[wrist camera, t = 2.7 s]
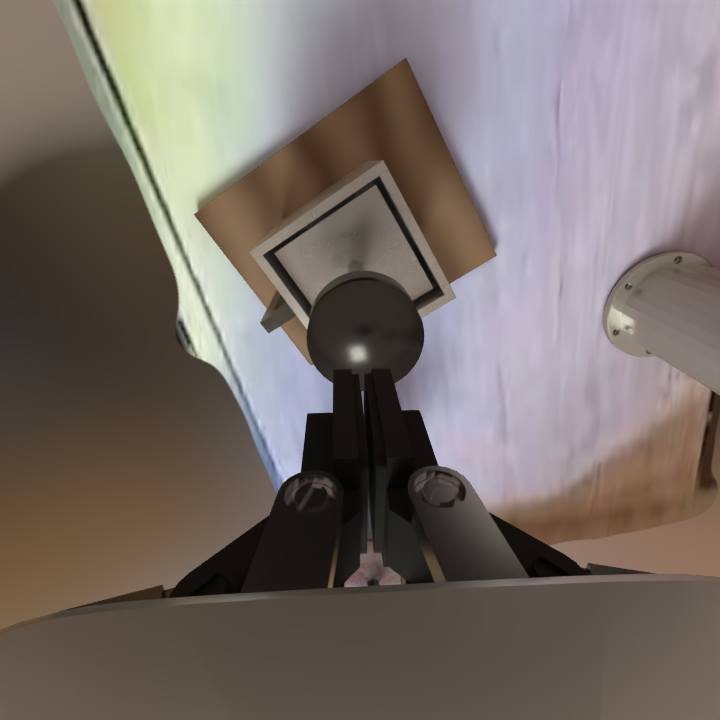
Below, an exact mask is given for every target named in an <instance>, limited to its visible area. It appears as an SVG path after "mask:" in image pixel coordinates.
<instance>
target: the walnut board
mask: <svg viewBox="0 0 720 720" xmlns="http://www.w3.org/2000/svg"><path fill="white" fill-rule="evenodd" d="M371 160H383V161H384V163H385V165H386V166H387V168H388V170H389V172H390V174H391V176H392V178H393V180H394V181H395V183H396V185H397V187H398V189H399V191H400V193H401V195H402V196H403V198H404V200H405V202H406V204H407V206H408V208H409V210H410V211H411V213H412V215H413V217H414V219H415V221H416V223H417V225H418V226H419V228H420V230H421V232H422V234H423V236H424V238H425V240H426V241H427V243H428V245H429V247H430V249H431V251H432V253H433V255H434V256H435V258H436V260H437V262H438V264H439V266H440V268H441V270H442V271H443V273H444V275H445V277H446V279H447V281H448V283H449V284H450V283H451V282H453V281H455V280H456V279H458V278H460V277H461V276H463V275H465V274H466V273H468V272H470V271H472V270H473V269H475V268H477V267H478V266H480V265H482V264H483V263H485V262H487V261H488V260H490V259H492V258H493V257H495V256H497V255H496V252H495V250H494V248H493V246H492V244H491V242H490V239H489V237H488V235H487V233H486V231H485V229H484V226H483V224H482V222H481V220H480V218H479V216H478V213H477V211H476V209H475V207H474V205H473V202H472V200H471V198H470V196H469V194H468V192H467V189H466V187H465V185H464V183H463V181H462V179H461V176H460V174H459V172H458V170H457V168H456V166H455V163H454V161H453V159H452V157H451V155H450V152H449V150H448V148H447V146H446V144H445V142H444V139H443V137H442V135H441V133H440V131H439V129H438V126H437V124H436V122H435V120H434V118H433V116H432V113H431V111H430V109H429V107H428V105H427V102H426V100H425V98H424V96H423V94H422V92H421V89H420V87H419V85H418V83H417V81H416V79H415V76H414V74H413V72H412V70H411V68H410V66H409V63H408V61H407V59H406V58H405V59H404V60H402V61H401V62H400V63H398V64H397V65H396V66H394V67H393V68H392V69H390V70H389V71H388V72H386V73H385V74H383V75H382V76H381V77H379V78H378V79H377V80H375V81H374V82H373V83H371V84H370V85H369V86H367V87H366V88H365V89H363V90H362V91H360V92H359V93H358V94H356V95H355V96H354V97H352V98H351V99H350V100H348V101H347V102H346V103H344V104H343V105H341V106H340V107H339V108H337V109H336V110H335V111H333V112H332V113H331V114H329V115H328V116H327V117H325V118H324V119H323V120H321V121H320V122H318V123H317V124H316V125H314V126H313V127H312V128H310V129H309V130H308V131H306V132H305V133H304V134H302V135H301V136H299V137H298V138H297V139H295V140H294V141H293V142H291V143H290V144H289V145H287V146H286V147H285V148H283V149H282V150H281V151H279V152H278V153H276V154H275V155H274V156H272V157H271V158H270V159H268V160H267V161H266V162H264V163H263V164H262V165H260V166H259V167H257V168H256V169H255V170H253V171H252V172H251V173H249V174H248V175H247V176H245V177H244V178H243V179H241V180H240V181H239V182H237V183H236V184H234V185H233V186H232V187H230V188H229V189H228V190H226V191H225V192H224V193H222V194H221V195H220V196H218V197H217V198H215V199H214V200H213V201H211V202H210V203H209V204H207V205H206V206H205V207H203V208H202V209H201V210H199V211H198V212H197V213H195V214H194V215H195V217H196V218H197V219H198V220H199V222H200V223H201V224H202V226H203V227H204V228H205V229H206V231H207V232H208V233H209V235H210V236H211V237H212V238H213V240H214V241H215V242H216V244H217V245H218V246H219V247H220V249H221V250H222V251H223V253H224V254H225V255H226V257H227V258H228V259H229V260H230V262H231V263H232V264H233V266H234V267H235V268H236V269H237V271H238V272H239V273H240V275H241V276H242V277H243V278H244V280H245V281H246V282H247V284H248V285H249V286H250V287H251V289H252V290H253V291H254V293H255V294H256V295H257V297H258V298H259V299H260V300H261V302H262V303H263V304H264V306H265V307H266V308H268V306H269V304H270V302H271V300H272V298H273V296H274V294H275V292H276V290H277V289H276V287H275V286H274V285H273V283H272V282H271V281H270V279H269V278H268V277H267V275H266V274H265V273H264V271H263V270H262V269H261V267H260V266H259V264H258V263H257V262H256V260H255V259H254V258H253V256H252V255H251V254H250V251H251V250H252V249H253V248H254V247H255V246H256V245H257V244H258V243H259V242H260V241H261V240H262V239H263V238H264V237H265V236H266V235H267V234H268V233H269V232H270V231H271V230H272V229H273V228H274V227H275V226H276V225H277V224H278V223H279V222H280V221H281V220H282V219H284V218H285V217H287V216H288V215H290V214H291V213H292V212H294V211H295V210H297V209H298V208H300V207H301V206H303V205H304V204H305V203H307V202H308V201H310V200H311V199H313V198H314V197H315V196H317V195H318V194H320V193H321V192H323V191H324V190H326V189H327V188H328V187H330V186H331V185H333V184H334V183H336V182H337V181H339V180H340V179H341V178H343V177H344V176H346V175H347V174H349V173H350V172H351V171H353V170H354V169H356V168H357V167H359V166H360V165H362V164H363V163H364V162H366V161H371ZM281 327H282V329H283V330H284V331H285V333H286V334H287V335H288V337H289V338H290V339H291V340H292V342H293V343H294V344H295V346H296V347H297V348H298V349H299V351H300V352H301V353H302V355H303V356H304V357H305V358H306V360H307V361H308V362H309V364H310V365H313V362H312V360H311V358H310V355H309V352H308V348H307V329H306V328H305V326H304V325H303V324H302V322H301V321H300V320H299V318H298V317H297V316H295V317H294V318H292V319H291V320H289V321H287V322H286V323H284V324H283V325H281Z"/></svg>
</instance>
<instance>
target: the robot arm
mask: <svg viewBox="0 0 720 720" xmlns="http://www.w3.org/2000/svg"><path fill="white" fill-rule="evenodd" d="M603 325H604V330H605V333H606V335H607V337H608V339H609V340H610V342H611V343H612V344H613V345H614V346H615V347H617V348H618V349H620V350H621V351H623V352H625V353H627V354H629V355H633V356H638V357H651V356H657V357H659V358H660V359H662V360H663V361H665V362H667V363H668V364H670V365H672V366H673V367H675V368H676V369H678V370H680V371H681V372H683V373H685V374H686V375H688V376H689V377H691V378H693V379H694V380H696V381H698V382H699V383H701V384H702V385H704V386H706V387H707V388H709V389H710V390H712V391H714V392H715V393H717V394H719V395H720V270H719V269H716V268H714V267H713V266H712V265H711V263H710V262H709V261H707V260H706V259H705V258H703V257H701V256H699V255H696V254H693V253H688V252H684V251H670V252H664V253H660V254H657V255H654V256H652V257H649V258H647V259H645V260H644V261H642V262H640V263H638V264H637V265H636V266H634V267H633V268H632V269H630V270H629V271H628V272H627V273H626V274H625V275H624V276H623V277H622V278H621V279H620V280H619V282H618V283H617V284H616V286H615V287H614V288H613V290H612V292H611V294H610V295H609V297H608V300H607V303H606V305H605V309H604V315H603ZM368 501H369V511H370V521H371V531H372V541H373V551H374V553H382V560H383V567H390V568H391V569H392V570H393V571H395V572H396V573H397V574H399V575H400V576H401V578H400V581H401V584H398V585H379V586H361V587H346V581H347V580H348V579H349V578H350V577H351V576H352V575H353V574H354V573H355V572H356V571H357V570H358V569H359V568H360V554H367V533H368ZM0 720H720V577H714V576H702V575H690V574H655V573H649V572H643V571H636V570H629V569H623V568H616V567H611V566H604V565H598V564H591V563H588V564H587V567H586V568H581V567H580V566H579V565H578V564H577V563H576V562H574V561H573V560H571V559H570V558H569V557H567V556H566V555H564V554H563V553H561V552H559V551H557V550H555V549H553V548H552V547H550V546H548V545H546V544H545V543H543V542H541V541H539V540H538V539H536V538H534V537H532V536H530V535H529V534H527V533H525V532H523V531H521V530H520V529H518V528H516V527H514V526H513V525H511V524H509V523H507V522H505V521H504V520H502V519H500V518H498V517H496V516H495V515H493V514H491V513H489V512H488V511H487V509H486V508H485V506H484V504H483V503H482V501H481V500H480V498H479V497H478V495H477V493H476V492H475V490H474V489H473V487H472V485H471V484H470V483H469V481H468V480H467V479H466V478H465V477H464V476H463V475H461V474H460V473H458V472H457V471H455V470H452V469H450V468H447V467H441V466H438V464H437V461H436V458H435V455H434V452H433V449H432V446H431V443H430V440H429V437H428V434H427V431H426V428H425V425H424V422H423V419H422V416H421V413H420V411H419V410H405V411H401V408H400V404H399V400H398V396H397V392H396V389H395V385H394V381H393V377H392V374H391V370H390V368H379V369H371V373H370V374H364V414H363V405H362V396H361V388H360V379H359V374H352V369H339V370H333V413H308V414H307V422H306V431H305V440H304V449H303V459H302V468H301V473H298V474H296V475H294V476H292V477H290V478H289V479H287V480H286V481H285V482H284V483H283V484H282V486H281V487H280V489H279V491H278V493H277V496H276V499H275V501H274V504H273V507H272V509H271V512H270V515H269V516H268V517H266V518H265V519H263V520H262V521H261V522H259V523H258V524H257V525H255V526H254V527H252V528H251V529H250V530H248V531H247V532H245V533H244V534H243V535H241V536H240V537H239V538H237V539H236V540H234V541H233V542H232V543H230V544H229V545H227V546H226V547H225V548H224V549H222V550H221V551H219V552H218V553H216V554H215V555H214V556H212V557H211V558H209V559H208V560H207V561H205V562H204V563H203V564H201V565H200V566H198V567H197V568H196V569H194V570H193V571H192V572H190V573H189V574H188V575H187V576H185V577H184V578H183V579H182V580H181V581H180V582H179V583H178V584H177V585H176V587H175V588H171V589H167V590H164V587H163V585H159V586H155V587H152V588H148V589H144V590H140V591H136V592H132V593H128V594H124V595H120V596H116V597H113V598H109V599H105V600H101V601H97V602H94V603H89V604H86V605H81V606H77V607H74V608H70V609H66V610H62V611H58V612H55V613H51V614H47V615H44V616H40V617H37V618H33V619H29V620H26V621H22V622H18V623H16V624H13V625H11V626H8V627H5V628H2V629H0Z"/></svg>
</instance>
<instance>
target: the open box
mask: <svg viewBox="0 0 720 720" xmlns="http://www.w3.org/2000/svg"><path fill="white" fill-rule="evenodd" d="M374 184H376V186H377V188H378V189H379V191H380V193H381V195H382V197H383V198H384V200H385V202H386V204H387V206H388V207H389V209H390V211H391V213H392V215H393V216H394V218H395V220H396V222H397V224H398V225H399V227H400V229H401V231H402V233H403V234H404V236H405V238H406V240H407V242H408V243H409V245H410V247H411V249H412V251H413V252H414V254H415V256H416V258H417V260H418V261H419V263H420V265H421V267H422V269H423V270H424V272H425V274H426V276H427V278H428V279H429V281H430V283H431V285H432V287H433V289H431V290H430V291H428V292H426V293H424V294H423V295H421V296H419V297H418V298H416V299H414V300H413V303H414V305H415V307H416V309H417V311H418V313H419V315H420V317H421V318H422V317H424V316H425V315H427V314H429V313H430V312H432V311H434V310H436V309H437V308H439V307H441V306H442V305H444V304H446V303H448V302H449V301H451V300H453V299H454V298H456V296H455V294H454V292H453V290H452V288H451V286H450V285H449V283H448V281H447V279H446V277H445V275H444V273H443V271H442V270H441V268H440V266H439V264H438V262H437V260H436V258H435V256H434V255H433V253H432V251H431V249H430V247H429V245H428V243H427V241H426V240H425V238H424V236H423V234H422V232H421V230H420V228H419V226H418V225H417V223H416V221H415V219H414V217H413V215H412V213H411V211H410V210H409V208H408V206H407V204H406V202H405V200H404V198H403V196H402V195H401V193H400V191H399V189H398V187H397V185H396V183H395V181H394V180H393V178H392V176H391V174H390V172H389V170H388V168H387V166H386V165H385V163H384V161H383V160H371V161H366V162H364V163H363V164H362V165H360V166H359V167H357V168H356V169H354V170H353V171H351V172H350V173H349V174H347V175H346V176H344V177H343V178H341V179H340V180H339V181H337V182H336V183H334V184H333V185H331V186H330V187H328V188H327V189H326V190H324V191H323V192H321V193H320V194H318V195H317V196H315V197H314V198H313V199H311V200H310V201H308V202H307V203H305V204H304V205H303V206H301V207H300V208H298V209H297V210H295V211H294V212H292V213H291V214H290V215H288V216H287V217H285V218H284V219H282V220H281V221H280V222H279V223H278V224H277V225H276V226H275V227H274V228H273V229H272V230H271V231H270V232H269V233H268V234H267V235H266V236H265V237H264V238H263V239H262V240H261V241H260V242H259V243H258V244H257V245H256V246H255V247H254V248H253V249H252V250H251V251H250V254H251V255H252V256H253V258H254V259H255V260H256V262H257V263H258V264H259V266H260V267H261V269H262V270H263V271H264V273H265V274H266V275H267V277H268V278H269V279H270V281H271V282H272V283H273V285H274V286H275V287H276V289H277V290H276V292H275V294H274V296H273V298H272V300H271V302H270V304H269V306H268V308H267V310H266V312H265V314H264V316H263V318H262V320H261V322H260V323H261V324H262V326H263V327H264V328H265V329H266V331H267V332H268V333H270V332H271V331H273V330H275V329H276V328H278V327H279V326H281V325H283V324H284V323H286V322H287V321H289V320H291V319H292V318H294V317H295V316H297V317H298V318H299V320H300V321H301V322H302V324H303V325H304V326H305V328H306V329H307V328H308V323H309V318H310V313H311V309H312V305H311V304H310V302H309V301H308V300H307V298H306V297H305V295H304V294H303V293H302V291H301V290H300V289H299V287H298V286H297V284H296V283H295V282H294V280H293V279H292V277H291V276H290V275H289V273H288V272H287V270H286V269H285V268H284V266H283V265H282V263H281V262H280V261H279V259H278V258H277V256H276V255H275V254H274V253H275V251H276V250H278V249H279V248H281V247H282V246H284V245H285V244H287V243H288V242H290V241H291V240H293V239H294V238H296V237H297V236H299V235H300V234H302V233H303V232H304V231H306V230H307V229H309V228H310V227H312V226H313V225H315V224H316V223H318V222H319V221H321V220H322V219H324V218H325V217H327V216H328V215H330V214H331V213H333V212H334V211H335V210H337V209H338V208H340V207H341V206H343V205H344V204H346V203H347V202H349V201H350V200H352V199H353V198H355V197H356V196H358V195H359V194H361V193H362V192H364V191H365V190H366V189H368V188H369V187H371V186H372V185H374Z"/></svg>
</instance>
